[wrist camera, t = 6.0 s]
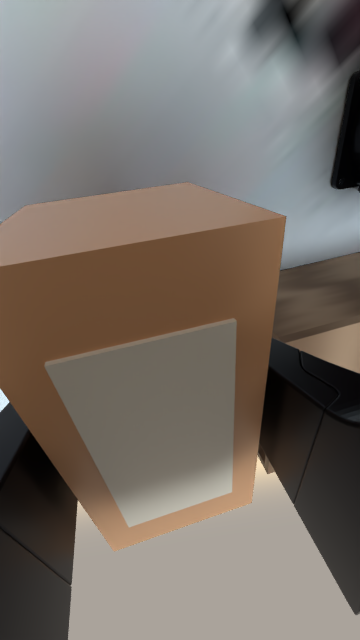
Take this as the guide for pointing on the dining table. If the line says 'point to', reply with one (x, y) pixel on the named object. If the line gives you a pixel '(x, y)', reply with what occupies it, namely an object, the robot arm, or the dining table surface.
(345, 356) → the box
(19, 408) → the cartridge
